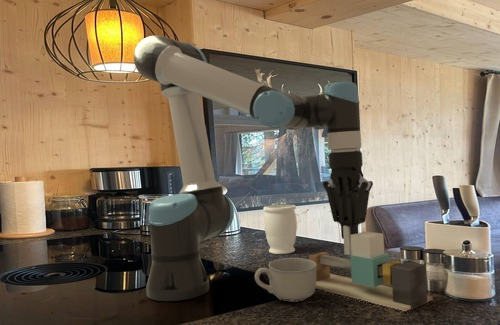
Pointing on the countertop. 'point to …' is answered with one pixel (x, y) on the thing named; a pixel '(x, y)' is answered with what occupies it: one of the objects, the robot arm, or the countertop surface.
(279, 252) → the jar
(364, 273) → the sleeve
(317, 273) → the rail
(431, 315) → the countertop surface
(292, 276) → the teacup
